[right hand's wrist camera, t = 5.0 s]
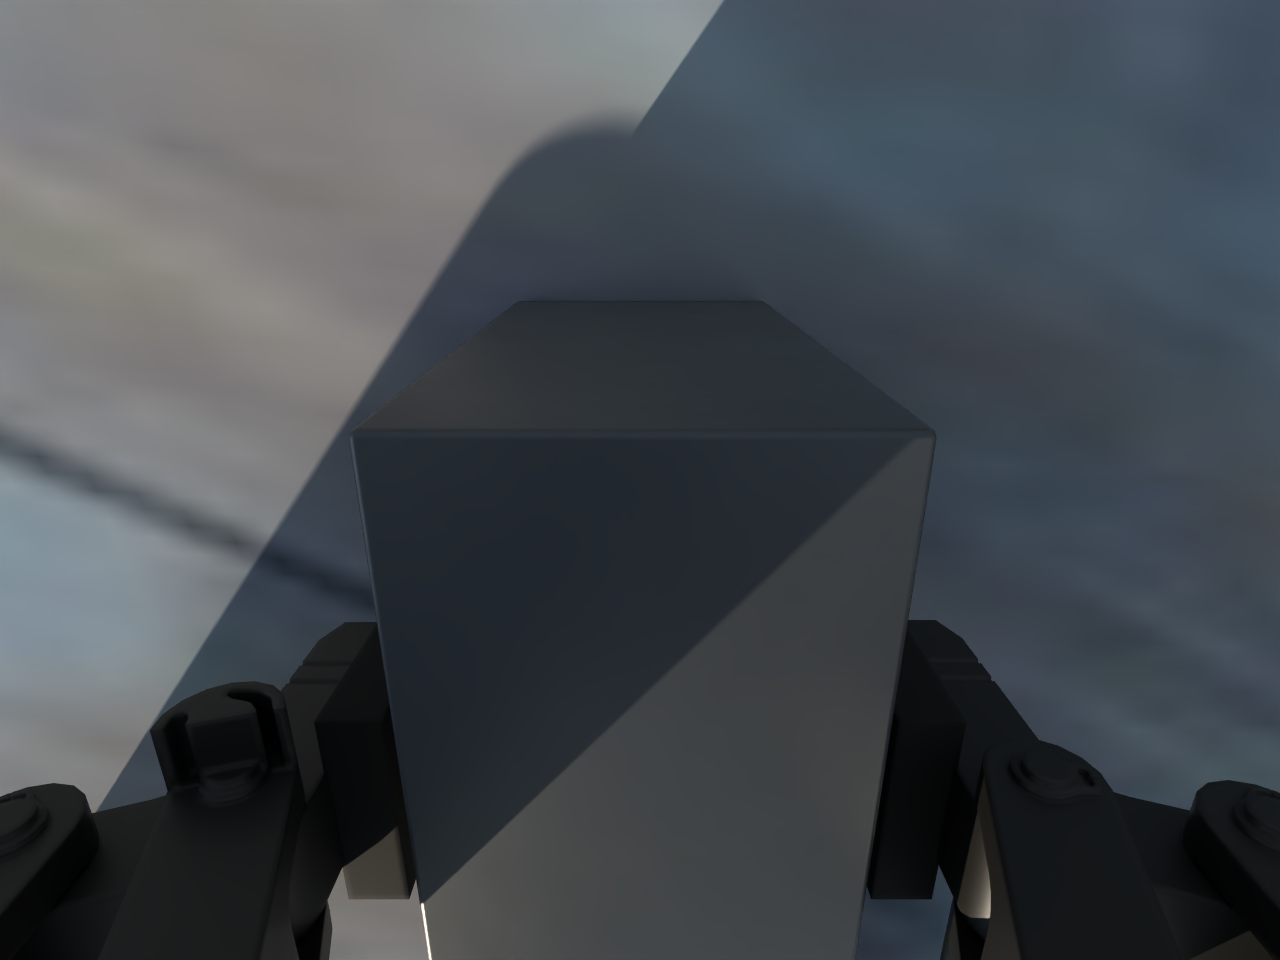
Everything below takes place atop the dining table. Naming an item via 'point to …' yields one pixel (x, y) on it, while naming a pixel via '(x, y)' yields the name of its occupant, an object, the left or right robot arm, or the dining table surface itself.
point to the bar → (642, 630)
